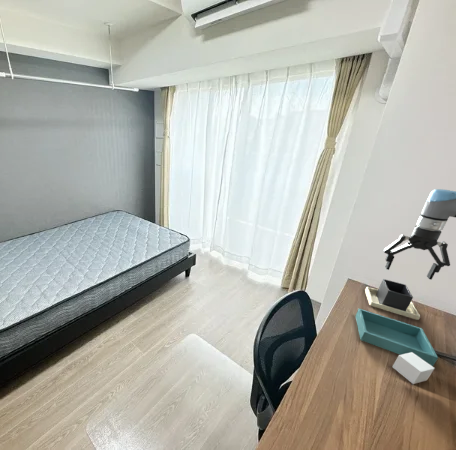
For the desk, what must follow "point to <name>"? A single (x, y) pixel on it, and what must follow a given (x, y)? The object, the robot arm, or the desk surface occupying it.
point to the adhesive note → (413, 367)
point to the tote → (394, 335)
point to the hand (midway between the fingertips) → (407, 273)
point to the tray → (374, 302)
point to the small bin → (394, 295)
